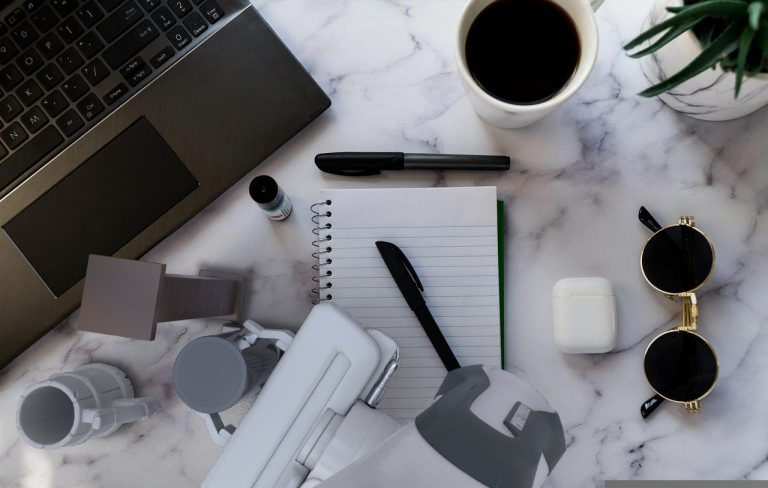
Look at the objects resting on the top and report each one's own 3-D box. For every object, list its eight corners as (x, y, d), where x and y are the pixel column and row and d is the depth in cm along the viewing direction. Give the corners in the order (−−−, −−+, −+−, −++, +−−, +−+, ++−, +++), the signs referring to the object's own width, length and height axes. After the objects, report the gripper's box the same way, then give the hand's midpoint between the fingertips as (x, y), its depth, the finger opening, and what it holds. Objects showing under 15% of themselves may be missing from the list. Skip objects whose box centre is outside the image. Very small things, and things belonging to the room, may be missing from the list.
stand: (244, 325, 68) (150, 341, 46) (193, 317, 68) (76, 330, 46) (252, 272, 68) (162, 263, 46) (201, 265, 69) (89, 253, 47)
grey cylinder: (273, 399, 62) (241, 419, 52) (210, 389, 63) (166, 407, 53) (283, 333, 63) (252, 341, 53) (220, 324, 63) (178, 330, 53)
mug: (70, 360, 69) (-7, 374, 57) (176, 364, 68) (120, 379, 56) (66, 432, 69) (-13, 462, 57) (173, 437, 67) (115, 469, 56)
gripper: (409, 354, 53) (272, 264, 54) (276, 564, 53) (142, 467, 54) (413, 347, 59) (290, 266, 61) (294, 534, 59) (174, 449, 61)
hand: (219, 363), depth 58 cm, fingers closed on grey cylinder, 6 cm apart
